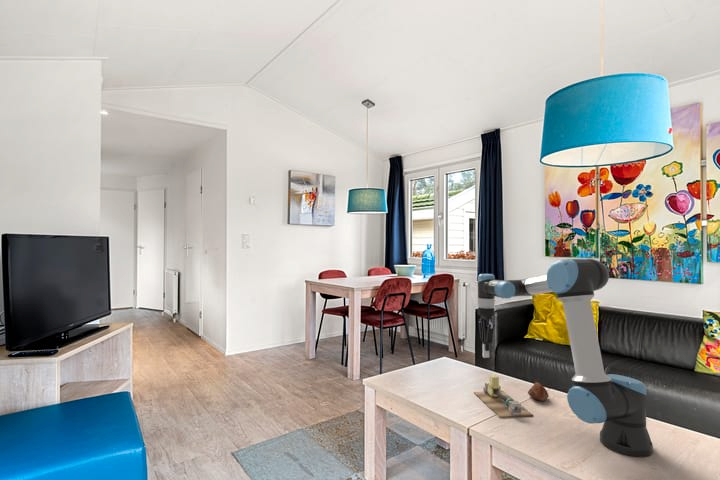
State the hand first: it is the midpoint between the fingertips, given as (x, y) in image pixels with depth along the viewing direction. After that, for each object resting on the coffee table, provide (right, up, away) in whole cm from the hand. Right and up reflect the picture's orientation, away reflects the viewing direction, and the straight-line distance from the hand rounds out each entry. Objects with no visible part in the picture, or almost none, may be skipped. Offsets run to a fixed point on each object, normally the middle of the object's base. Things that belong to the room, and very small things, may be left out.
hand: (485, 357), depth 186 cm
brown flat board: (+2, -16, -15) cm, 22 cm away
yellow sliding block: (+1, -14, -8) cm, 17 cm away
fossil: (+20, -16, -9) cm, 27 cm away
